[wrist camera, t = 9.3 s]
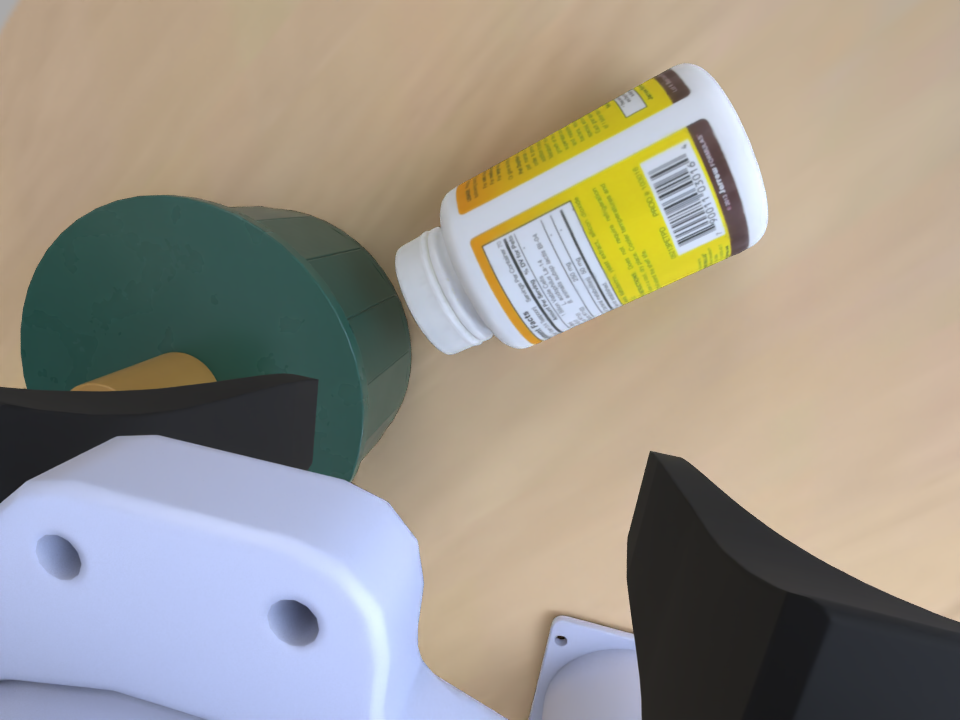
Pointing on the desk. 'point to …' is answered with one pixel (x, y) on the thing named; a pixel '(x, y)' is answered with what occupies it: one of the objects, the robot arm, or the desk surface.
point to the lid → (192, 313)
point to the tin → (354, 306)
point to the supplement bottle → (589, 218)
